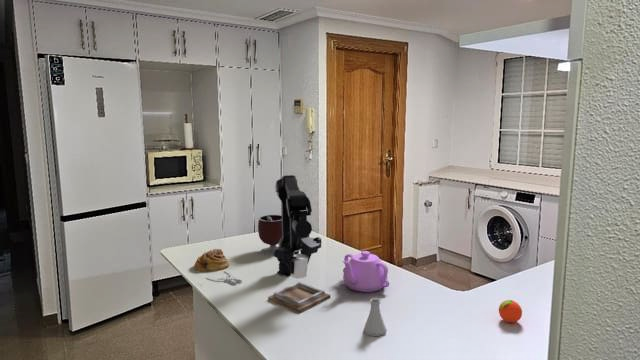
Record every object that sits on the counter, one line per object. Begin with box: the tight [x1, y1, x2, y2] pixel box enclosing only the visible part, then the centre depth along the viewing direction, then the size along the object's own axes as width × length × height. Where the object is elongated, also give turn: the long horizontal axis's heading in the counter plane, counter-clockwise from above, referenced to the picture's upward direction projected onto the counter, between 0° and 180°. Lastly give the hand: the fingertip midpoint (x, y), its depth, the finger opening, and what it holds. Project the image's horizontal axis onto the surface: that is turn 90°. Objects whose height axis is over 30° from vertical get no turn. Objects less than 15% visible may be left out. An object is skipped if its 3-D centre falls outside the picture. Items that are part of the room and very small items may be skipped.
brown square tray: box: [267, 281, 331, 314], centre depth 157 cm, size 16×16×3 cm
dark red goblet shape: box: [257, 214, 282, 257], centre depth 208 cm, size 16×14×20 cm
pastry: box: [193, 248, 230, 273], centre depth 191 cm, size 13×15×8 cm
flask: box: [363, 298, 387, 337], centre depth 133 cm, size 7×7×10 cm
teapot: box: [342, 250, 390, 293], centre depth 166 cm, size 22×22×14 cm
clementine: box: [498, 299, 523, 324], centre depth 138 cm, size 8×7×7 cm
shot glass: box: [290, 253, 309, 279], centre depth 155 cm, size 7×7×7 cm
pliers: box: [206, 270, 243, 286], centre depth 177 cm, size 10×2×15 cm
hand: (298, 271), depth 156 cm, fingers closed on shot glass, 6 cm apart
